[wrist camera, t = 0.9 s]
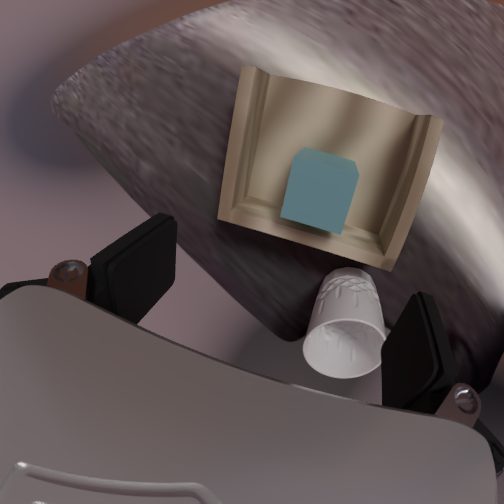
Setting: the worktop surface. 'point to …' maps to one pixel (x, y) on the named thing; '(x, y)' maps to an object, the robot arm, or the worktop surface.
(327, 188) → the teal block
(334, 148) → the birch box
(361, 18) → the worktop surface
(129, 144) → the worktop surface
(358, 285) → the white cup
